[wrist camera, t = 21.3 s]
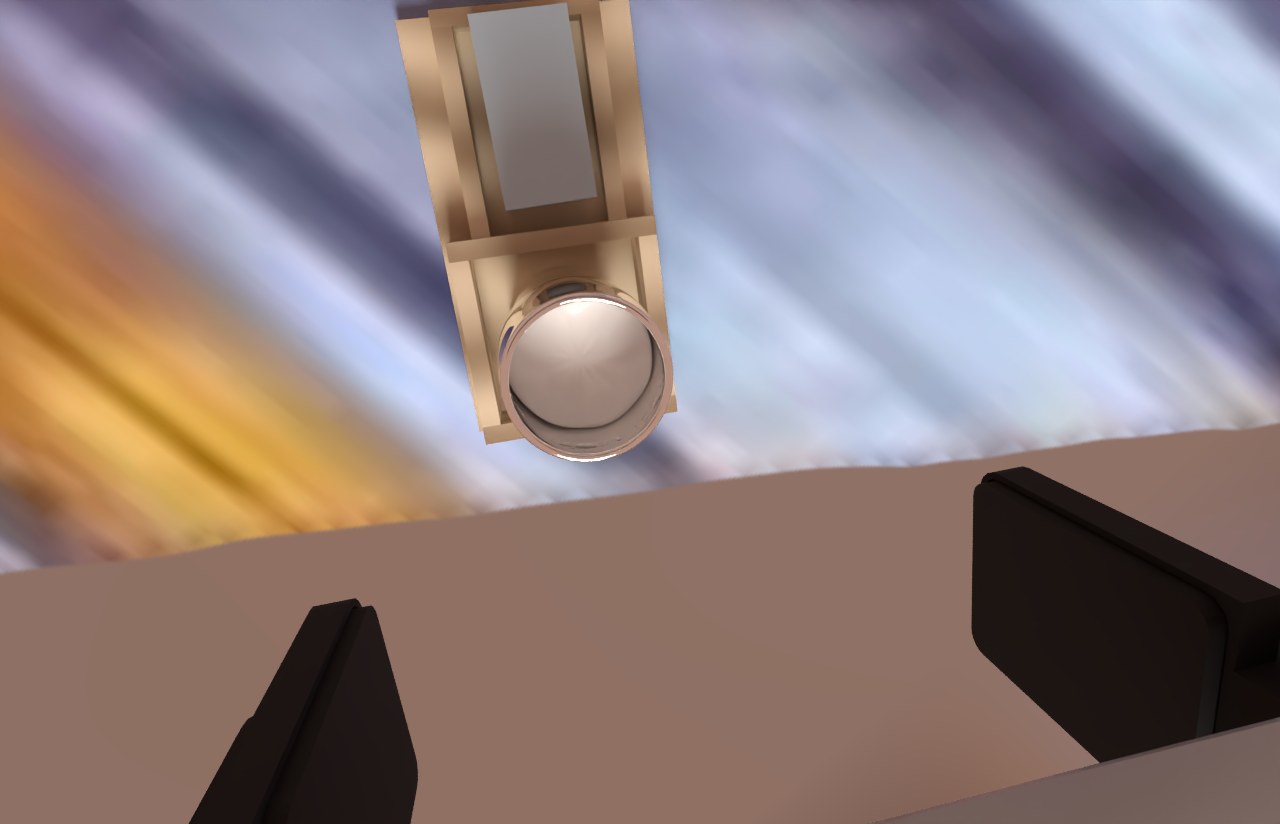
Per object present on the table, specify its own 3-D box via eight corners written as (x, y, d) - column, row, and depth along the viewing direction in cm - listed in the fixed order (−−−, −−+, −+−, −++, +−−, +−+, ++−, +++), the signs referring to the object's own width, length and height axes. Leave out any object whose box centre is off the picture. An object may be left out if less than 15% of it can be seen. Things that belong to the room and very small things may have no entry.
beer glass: (556, 402, 41) (575, 502, 27) (477, 312, 39) (452, 369, 25) (646, 329, 41) (714, 390, 26) (571, 234, 38) (602, 246, 24)
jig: (399, 26, 36) (384, 3, 32) (625, 5, 37) (637, -20, 33) (480, 425, 42) (476, 446, 38) (671, 393, 43) (685, 409, 40)
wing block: (474, 42, 35) (467, 14, 30) (560, 31, 36) (566, 2, 31) (507, 212, 38) (505, 210, 33) (587, 199, 38) (597, 196, 33)
